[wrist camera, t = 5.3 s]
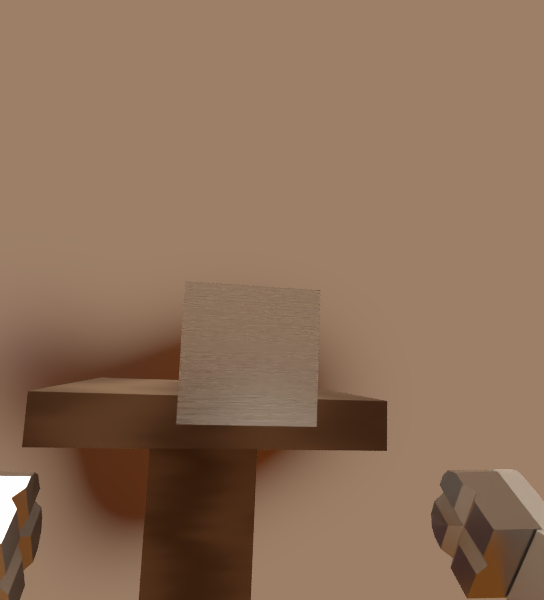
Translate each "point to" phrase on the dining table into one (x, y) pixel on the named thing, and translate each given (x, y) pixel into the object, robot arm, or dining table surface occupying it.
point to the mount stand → (192, 471)
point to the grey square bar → (249, 356)
